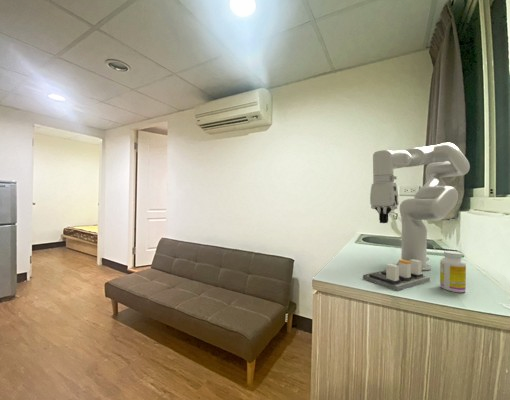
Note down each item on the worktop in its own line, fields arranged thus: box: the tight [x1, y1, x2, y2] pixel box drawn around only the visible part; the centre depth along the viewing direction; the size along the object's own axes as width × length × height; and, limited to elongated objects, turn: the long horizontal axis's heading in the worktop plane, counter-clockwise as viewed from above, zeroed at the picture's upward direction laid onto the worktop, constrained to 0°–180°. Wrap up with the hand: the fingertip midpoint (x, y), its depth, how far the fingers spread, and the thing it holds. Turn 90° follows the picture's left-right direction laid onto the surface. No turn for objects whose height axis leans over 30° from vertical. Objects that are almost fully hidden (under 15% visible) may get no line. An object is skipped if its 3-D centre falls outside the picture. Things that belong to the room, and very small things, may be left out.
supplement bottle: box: [439, 250, 467, 293], centre depth 78 cm, size 7×7×13 cm
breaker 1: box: [385, 263, 399, 281], centre depth 80 cm, size 2×3×5 cm
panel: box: [362, 269, 431, 292], centre depth 86 cm, size 21×13×2 cm, turn 118°
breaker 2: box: [410, 259, 423, 275], centre depth 87 cm, size 2×3×5 cm
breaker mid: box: [398, 258, 411, 278], centre depth 84 cm, size 2×3×6 cm
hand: (383, 222), depth 96 cm, fingers closed
